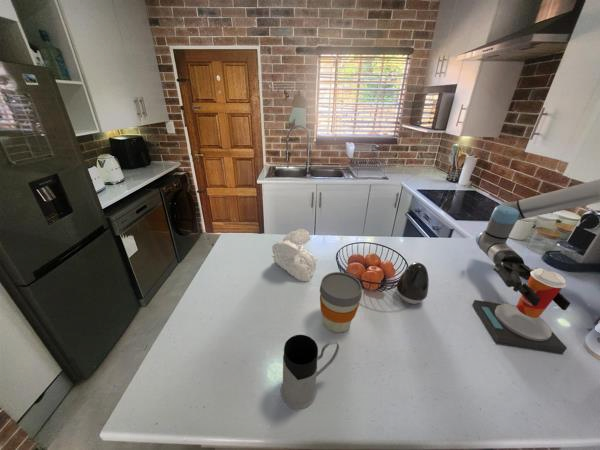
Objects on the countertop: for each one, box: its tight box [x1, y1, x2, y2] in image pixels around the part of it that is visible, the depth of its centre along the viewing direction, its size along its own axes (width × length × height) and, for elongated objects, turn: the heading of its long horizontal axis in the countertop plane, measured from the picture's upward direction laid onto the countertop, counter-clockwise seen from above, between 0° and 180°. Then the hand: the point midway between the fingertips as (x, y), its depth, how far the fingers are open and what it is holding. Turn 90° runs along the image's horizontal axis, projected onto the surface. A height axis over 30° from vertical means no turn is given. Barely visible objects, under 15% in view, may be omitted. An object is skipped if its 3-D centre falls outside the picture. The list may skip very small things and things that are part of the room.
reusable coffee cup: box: [319, 271, 363, 333], centre depth 77 cm, size 13×13×15 cm
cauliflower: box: [271, 228, 318, 282], centre depth 102 cm, size 19×20×20 cm
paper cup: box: [516, 267, 567, 318], centre depth 74 cm, size 8×8×14 cm
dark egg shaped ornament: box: [396, 262, 430, 305], centre depth 87 cm, size 10×10×15 cm
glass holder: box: [280, 334, 340, 411], centre depth 58 cm, size 9×14×15 cm, turn 112°
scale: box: [472, 299, 568, 354], centre depth 80 cm, size 18×16×4 cm
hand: (551, 304), depth 69 cm, fingers closed on paper cup, 7 cm apart
